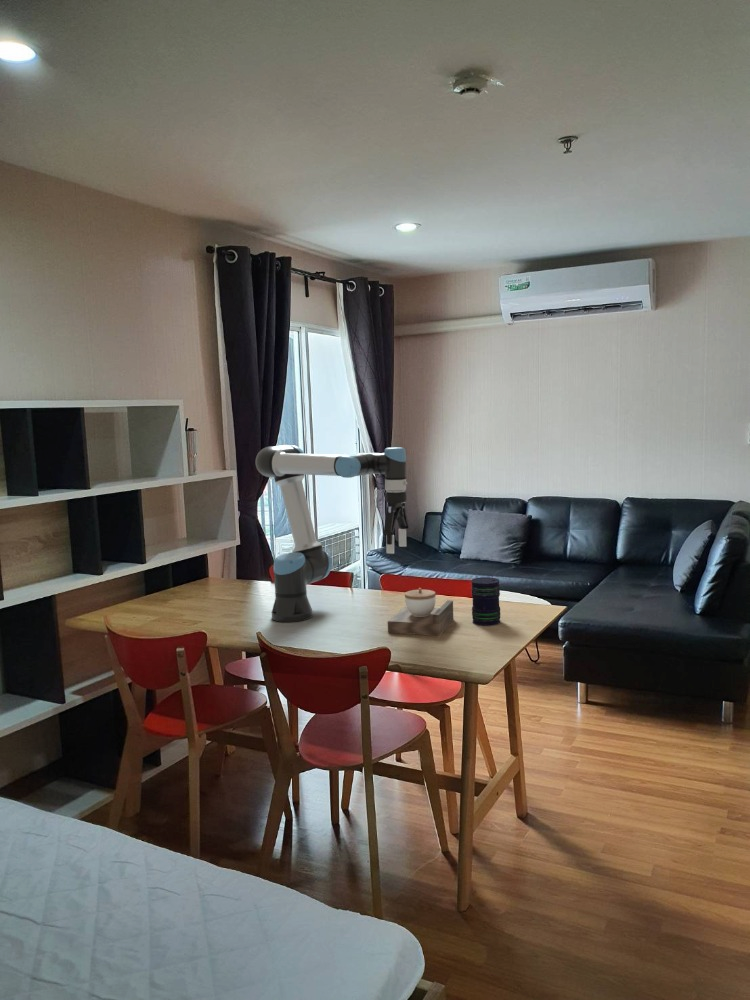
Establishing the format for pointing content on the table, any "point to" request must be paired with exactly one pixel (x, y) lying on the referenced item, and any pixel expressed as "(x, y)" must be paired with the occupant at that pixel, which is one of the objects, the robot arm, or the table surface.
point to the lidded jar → (420, 602)
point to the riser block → (422, 621)
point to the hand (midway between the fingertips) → (396, 549)
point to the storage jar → (485, 601)
